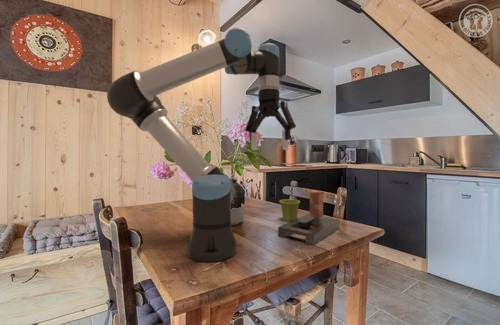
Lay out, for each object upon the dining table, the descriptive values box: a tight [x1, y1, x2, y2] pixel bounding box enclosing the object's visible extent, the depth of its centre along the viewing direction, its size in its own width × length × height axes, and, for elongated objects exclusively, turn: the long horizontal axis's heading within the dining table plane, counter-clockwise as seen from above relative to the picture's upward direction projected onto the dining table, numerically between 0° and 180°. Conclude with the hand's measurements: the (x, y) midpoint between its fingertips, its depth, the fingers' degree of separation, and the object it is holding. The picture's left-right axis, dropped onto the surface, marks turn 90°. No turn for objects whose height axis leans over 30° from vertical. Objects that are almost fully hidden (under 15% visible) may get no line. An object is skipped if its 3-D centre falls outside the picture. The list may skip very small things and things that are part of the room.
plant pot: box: [279, 198, 301, 222], centre depth 112 cm, size 9×9×9 cm
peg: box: [308, 190, 324, 230], centre depth 98 cm, size 6×6×15 cm
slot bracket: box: [277, 213, 340, 246], centre depth 94 cm, size 14×24×3 cm, turn 140°
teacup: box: [231, 203, 245, 226], centre depth 108 cm, size 14×11×8 cm
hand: (268, 150), depth 87 cm, fingers open, 13 cm apart
